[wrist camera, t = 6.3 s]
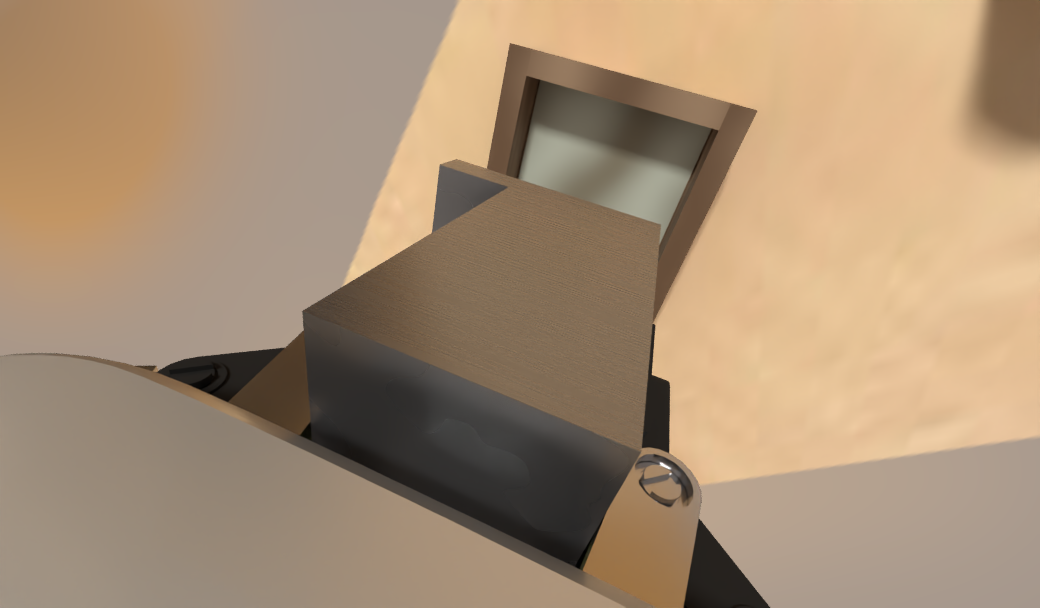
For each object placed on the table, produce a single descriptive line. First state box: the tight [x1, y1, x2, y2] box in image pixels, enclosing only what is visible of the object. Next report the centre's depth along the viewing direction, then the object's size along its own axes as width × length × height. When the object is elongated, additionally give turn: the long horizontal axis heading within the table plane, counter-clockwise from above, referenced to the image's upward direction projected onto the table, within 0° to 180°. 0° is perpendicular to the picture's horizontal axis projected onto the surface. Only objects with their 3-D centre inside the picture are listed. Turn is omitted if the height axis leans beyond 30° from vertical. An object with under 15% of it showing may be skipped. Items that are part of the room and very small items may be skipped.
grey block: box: [302, 159, 661, 567], centre depth 10 cm, size 6×7×8 cm
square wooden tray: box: [487, 43, 757, 321], centre depth 24 cm, size 12×12×4 cm
